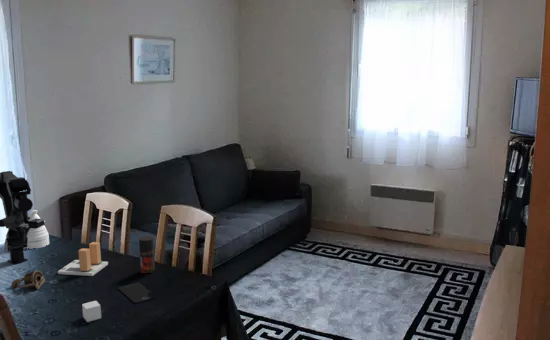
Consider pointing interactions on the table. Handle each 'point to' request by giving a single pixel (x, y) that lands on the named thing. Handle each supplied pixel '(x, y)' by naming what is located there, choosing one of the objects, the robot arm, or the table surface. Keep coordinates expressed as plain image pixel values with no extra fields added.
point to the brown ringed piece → (30, 280)
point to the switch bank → (75, 269)
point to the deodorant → (146, 254)
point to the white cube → (91, 311)
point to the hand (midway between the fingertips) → (23, 241)
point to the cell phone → (135, 292)
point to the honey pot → (37, 234)
